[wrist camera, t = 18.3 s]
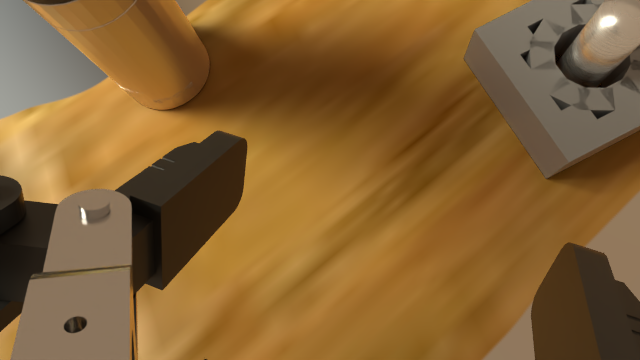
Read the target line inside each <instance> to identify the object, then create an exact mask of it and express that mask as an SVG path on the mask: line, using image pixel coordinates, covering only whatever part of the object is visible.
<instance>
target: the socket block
mask: <svg viewBox="0 0 640 360" xmlns="http://www.w3.org/2000/svg"><path fill="white" fill-rule="evenodd" d="M603 2H604V0H532V1H530V2H528V3H526V4H524V5H522V6H520V7H518V8H516V9H514V10H512V11H510V12H508V13H506V14H504V15H502V16H500V17H498V18H496V19H495V20H493V21H491V22H489V23H487V24H485V25H483V26H481V27H479V28H477V29H475V30H474V32H473V35H472V38H471V41H470V43H469V46H468V49H467V51H466V54H465V57H464V60H465V61H466V63H467V64H468V66H469V67H470V69H471V70H472V72H473V73H474V75H475V76H476V78H477V79H478V80H479V82H480V83H481V85H482V86H483V88H484V89H485V91H486V92H487V94H488V95H489V96H490V98H491V99H492V101H493V102H494V104H495V105H496V107H497V108H498V110H499V111H500V112H501V114H502V115H503V117H504V118H505V120H506V121H507V123H508V124H509V126H510V127H511V129H512V130H513V131H514V133H515V134H516V136H517V137H518V139H519V140H520V142H521V143H522V145H523V146H524V147H525V149H526V150H527V152H528V153H529V155H530V156H531V158H532V159H533V161H534V162H535V163H536V165H537V166H538V168H539V169H540V171H541V172H542V174H543V175H544V177H545V178H546V179H547V178H549V177H551V176H553V175H555V174H557V173H559V172H561V171H563V170H565V169H567V168H569V167H570V166H572V165H574V164H576V163H578V162H580V161H582V160H584V159H586V158H588V157H590V156H592V155H594V154H595V153H597V152H599V151H601V150H603V149H605V148H607V147H609V146H611V145H613V144H615V143H617V142H619V141H620V140H622V139H624V138H626V137H628V136H630V135H632V134H634V133H636V132H638V131H640V45H639V46H638V47H637V48H636V49H635V50H634V51H633V52H632V53H631V54H630V55H629V56H628V57H627V58H626V59H625V60H624V61H622V62H621V63H620V64H619V65H618V66H617V67H616V68H615V69H614V70H613V71H612V72H611V73H610V74H609V75H608V76H607V77H606V78H605V79H604V80H603V81H602V82H601V84H602V88H585V87H583V86H581V85H579V84H576V83H574V82H572V81H570V80H568V79H566V77H565V76H564V75H563V73H562V72H561V71H560V69H559V68H558V67H557V65H556V64H555V55H563V54H564V53H565V52H566V50H567V49H568V48H569V46H570V45H571V44H572V42H573V41H574V40H575V38H576V37H577V36H578V34H579V33H580V32H581V30H582V29H583V28H584V27H585V25H586V24H587V23H588V21H589V20H590V19H591V17H592V16H593V15H594V13H595V12H596V11H597V9H598V8H599V7H600V6H601V4H602V3H603Z"/></svg>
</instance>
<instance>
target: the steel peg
mask: <svg viewBox="0 0 640 360" xmlns="http://www.w3.org/2000/svg"><path fill="white" fill-rule="evenodd" d="M639 45H640V0H604V2H603V3H602V4H601V6H600V7H599V8H598V9H597V11H596V12H595V13H594V15H593V16H592V17H591V19H590V20H589V21H588V23H587V24H586V25H585V27H584V28H583V29H582V30H581V32H580V33H579V34H578V36H577V37H576V38H575V40H574V41H573V42H572V44H571V45H570V46H569V48H568V49H567V50H566V52H565V53H564V54H563V55H562V57H561V58H560V59H559V61H558V62H557V63H556V65H557V67H558V68H559V69H560V71H561V72H562V73H563V75H564V76H565V77H566V79H568V80H570V81H572V82H574V83H576V84H579V85H581V86H583V87H585V88H596V87H597V86H598V85H599V84H600V83H601V82H602V81H603V80H604V79H605V78H606V77H607V76H608V75H609V74H610V73H611V72H612V71H613V70H614V69H615V68H616V67H617V66H618V65H619V64H620V63H621V62H622V61H624V60H625V59H626V58H627V57H628V56H629V55H630V54H631V53H632V52H633V51H634V50H635V49H636V48H637V47H638V46H639Z"/></svg>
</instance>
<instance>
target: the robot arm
mask: <svg viewBox="0 0 640 360" xmlns="http://www.w3.org/2000/svg"><path fill="white" fill-rule="evenodd" d="M23 1H24V2H25V3H26V4H28V5H29V6H30V7H31V8H32V9H33V10H35V12H37V13H38V14H39V15H40V16H41V17H42V18H43V19H44V20H46V21H47V22H48V23H50V25H52V26H53V27H54V28H55V29H56V30H57V31H58V32H59V33H61V34H62V35H63V36H64V37H65V38H66V39H67V40H68V41H70V42H71V43H72V44H73V45H74V46H75V47H76V48H78V49H79V50H80V51H81V52H82V53H83V54H84V55H85V56H87V57H88V58H89V59H90V60H91V61H92V62H93V63H94V64H96V65H97V66H98V67H99V68H100V69H101V70H102V71H103V72H105V73H106V74H107V75H108V76H109V77H110V78H111V79H112V80H114V81H115V82H116V83H117V84H118V85H119V86H120V87H121V88H122V89H124V90H125V91H126V92H127V93H128V94H129V95H130V96H132V97H133V98H134V99H135V100H136V101H137V102H139V103H140V104H142V105H144V106H146V107H148V108H152V109H156V110H166V109H172V108H176V107H178V106H181V105H183V104H185V103H186V102H188V101H190V100H191V99H192V98H193V97H195V96H196V95H197V94H198V93H199V91H200V90H201V89H202V87H203V86H204V84H205V82H206V80H207V78H208V74H209V70H210V60H209V56H208V52H207V50H206V48H205V46H204V45H203V43H202V42H201V40H200V38H199V37H198V35H197V34H196V32H195V31H194V29H193V27H192V26H191V24H190V22H189V21H188V19H187V18H186V16H185V14H184V13H183V11H182V10H181V8H180V7H179V5H178V4H177V2H176V1H175V0H23ZM246 156H247V141H246V140H245V139H244V138H241V137H238V136H235V135H232V134H229V133H225V132H222V131H216V132H214V133H213V134H211V135H210V136H209V137H207V138H206V139H205V140H203V141H202V142H201V143H196V142H193V143H190V144H186V145H183V146H180V147H177V148H175V149H173V150H172V151H171V152H169V153H168V154H166V155H165V156H163V158H162V159H159V160H158V161H156V162H155V163H153V164H152V166H151V167H150V166H149V167H148V168H146V169H145V170H143V171H142V172H141V173H139V174H138V175H136V176H135V177H133V178H132V179H131V180H129V181H128V182H126V183H125V184H123V185H122V186H121V187H119V188H118V189H116V190H115V191H113V190H107V189H92V190H85V191H81V192H78V193H75V194H72V195H70V196H68V197H67V198H65V199H64V200H62V201H61V202H60V203H59V204H50V203H41V202H33V201H24V197H23V193H22V188H21V185H20V184H19V183H18V182H17V181H16V180H14V179H12V178H9V177H6V176H0V332H1V331H2V330H3V329H4V328H5V327H6V326H7V325H8V324H9V323H11V322H12V321H13V320H14V319H15V318H16V317H17V316H18V315H19V314H21V317H20V322H19V326H18V330H17V334H16V338H15V343H14V347H13V351H12V355H11V360H138V337H137V291H138V290H139V289H140V288H141V287H142V286H143V285H144V284H148V285H150V286H153V287H155V288H158V289H160V290H163V289H164V288H165V287H166V286H167V285H168V284H169V283H170V281H171V280H172V279H173V278H174V277H175V276H176V275H177V274H178V273H179V271H180V270H181V269H182V268H183V267H184V266H185V265H186V264H187V263H188V262H189V260H190V259H191V258H192V257H193V256H194V255H195V254H196V253H197V252H198V251H199V249H200V248H201V247H202V246H203V245H204V244H205V243H206V242H207V241H208V240H209V238H210V237H211V236H212V235H213V234H214V233H215V232H216V231H217V230H218V229H219V227H220V226H221V225H222V224H223V223H224V222H225V221H226V220H227V219H228V218H229V216H230V215H231V214H232V213H233V212H234V211H235V209H236V208H237V206H238V204H239V202H240V200H241V197H242V193H243V187H244V176H245V166H246ZM531 320H532V331H533V341H534V351H535V360H640V302H639V300H638V299H637V298H636V297H635V296H634V294H633V293H632V292H631V291H630V290H629V289H628V287H627V286H626V285H625V284H624V283H623V282H619V281H616V280H615V279H614V276H613V273H612V270H611V267H610V265H609V262H608V259H607V256H606V255H605V254H604V253H601V252H598V251H595V250H592V249H589V248H586V247H582V246H579V245H576V244H573V243H567V244H565V245H564V246H563V248H562V249H561V251H560V252H559V254H558V256H557V258H556V259H555V261H554V263H553V264H552V266H551V268H550V270H549V271H548V273H547V275H546V276H545V278H544V280H543V282H542V283H541V285H540V287H539V289H538V290H537V292H536V295H535V297H534V301H533V304H532V311H531ZM205 360H207V359H205Z"/></svg>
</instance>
